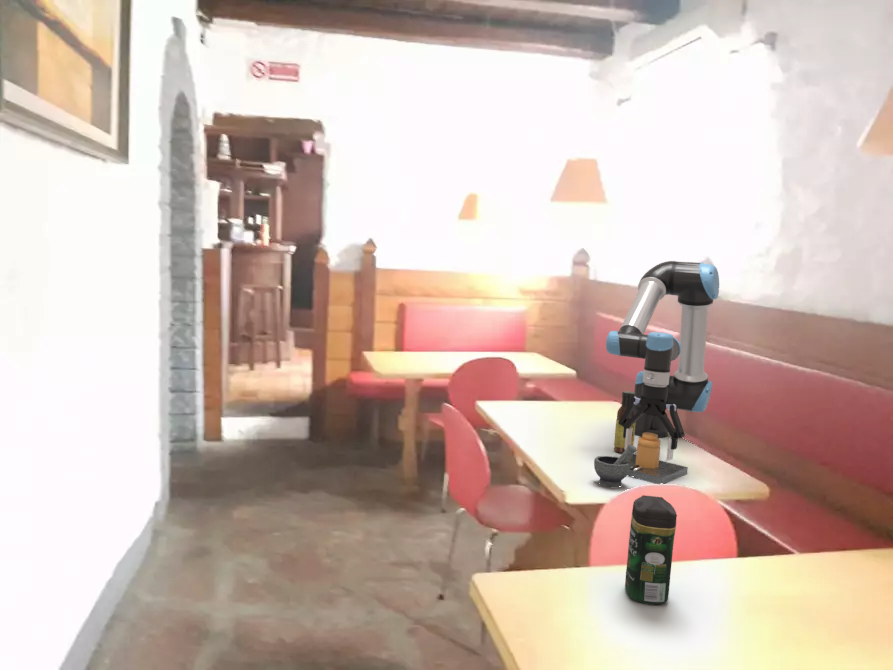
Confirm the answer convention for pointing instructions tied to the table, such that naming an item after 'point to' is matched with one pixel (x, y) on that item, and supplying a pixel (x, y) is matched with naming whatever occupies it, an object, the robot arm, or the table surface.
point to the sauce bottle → (619, 440)
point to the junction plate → (656, 471)
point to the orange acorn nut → (648, 450)
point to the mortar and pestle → (613, 467)
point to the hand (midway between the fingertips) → (648, 454)
